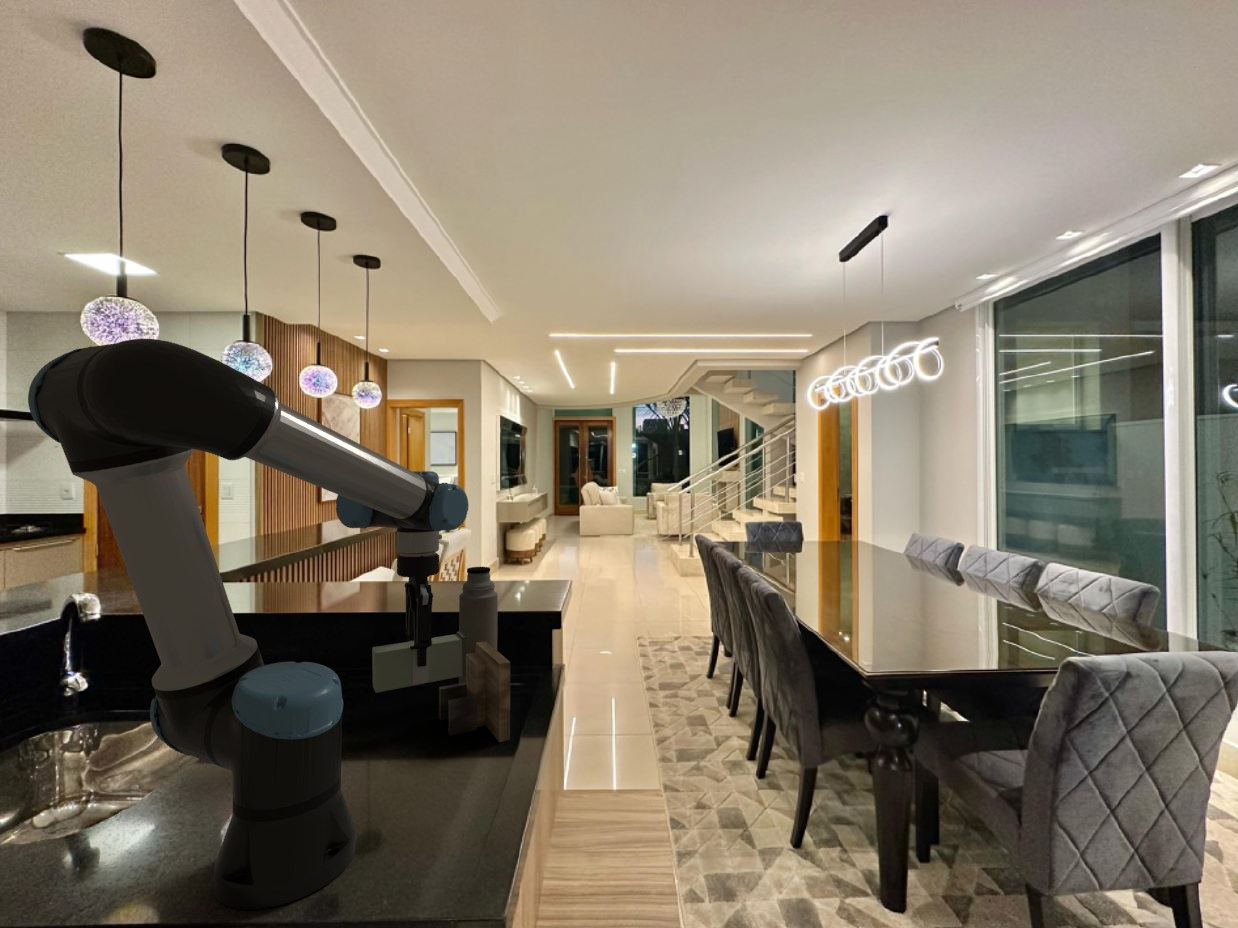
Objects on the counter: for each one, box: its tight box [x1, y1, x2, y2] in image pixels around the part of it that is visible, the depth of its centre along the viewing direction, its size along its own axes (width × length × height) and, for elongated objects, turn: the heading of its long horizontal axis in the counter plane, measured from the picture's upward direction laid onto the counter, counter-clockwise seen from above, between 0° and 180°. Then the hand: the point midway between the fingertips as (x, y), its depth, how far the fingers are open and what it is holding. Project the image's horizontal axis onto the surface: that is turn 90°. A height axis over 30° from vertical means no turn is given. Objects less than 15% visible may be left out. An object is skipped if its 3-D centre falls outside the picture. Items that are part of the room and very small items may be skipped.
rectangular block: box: [371, 630, 466, 694], centre depth 108 cm, size 16×4×7 cm, turn 120°
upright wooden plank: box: [438, 641, 511, 743], centre depth 110 cm, size 9×16×14 cm, turn 30°
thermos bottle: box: [458, 566, 499, 684], centre depth 124 cm, size 8×8×28 cm
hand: (417, 678), depth 108 cm, fingers closed on rectangular block, 4 cm apart
